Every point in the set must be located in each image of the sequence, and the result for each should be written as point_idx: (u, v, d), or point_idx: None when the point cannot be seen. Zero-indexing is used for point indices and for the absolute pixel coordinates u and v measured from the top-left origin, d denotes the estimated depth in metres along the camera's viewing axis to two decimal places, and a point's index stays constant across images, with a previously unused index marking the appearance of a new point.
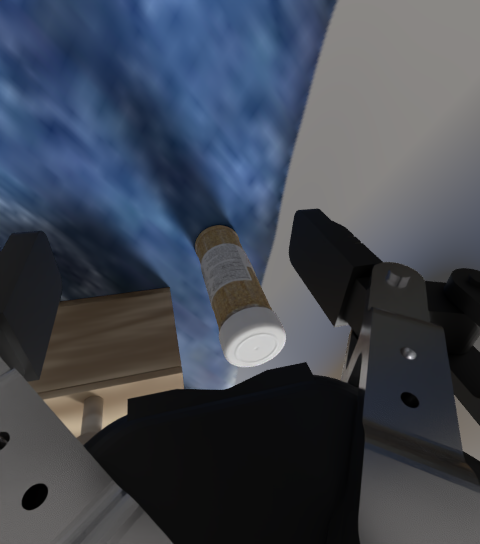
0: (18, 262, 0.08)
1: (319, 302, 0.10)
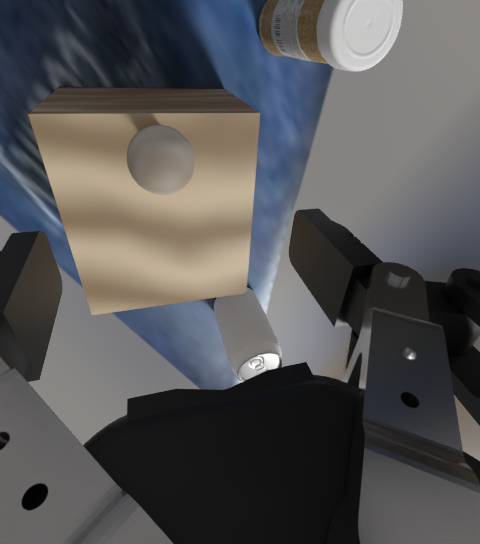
0: (18, 262, 0.08)
1: (319, 302, 0.10)
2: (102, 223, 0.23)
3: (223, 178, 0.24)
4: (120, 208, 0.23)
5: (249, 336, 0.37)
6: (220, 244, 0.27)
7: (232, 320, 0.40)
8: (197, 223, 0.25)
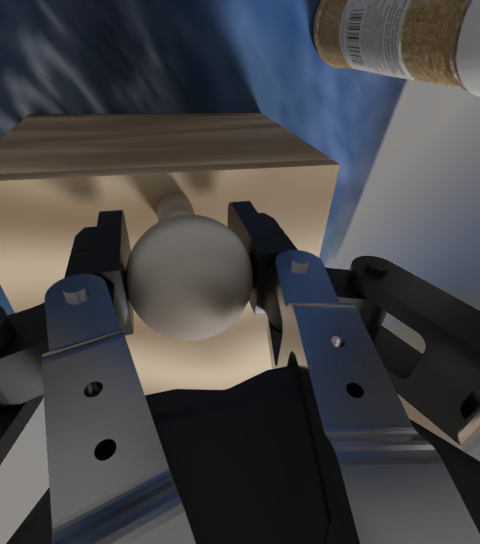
0: (115, 233, 0.09)
1: None
2: None
3: None
4: None
5: None
6: (260, 338, 0.19)
7: None
8: None
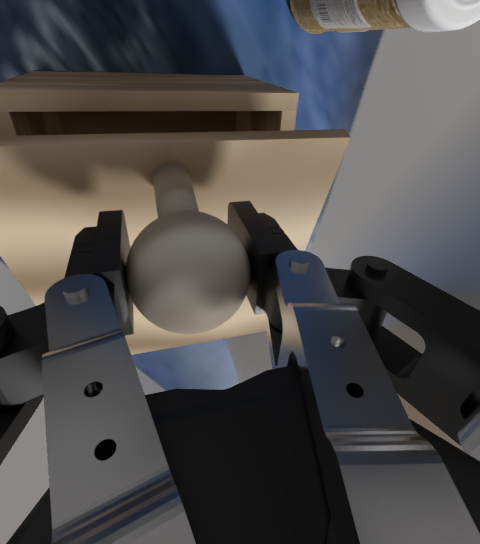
0: (115, 233, 0.09)
1: None
2: None
3: None
4: None
5: None
6: None
7: (249, 354, 0.34)
8: None
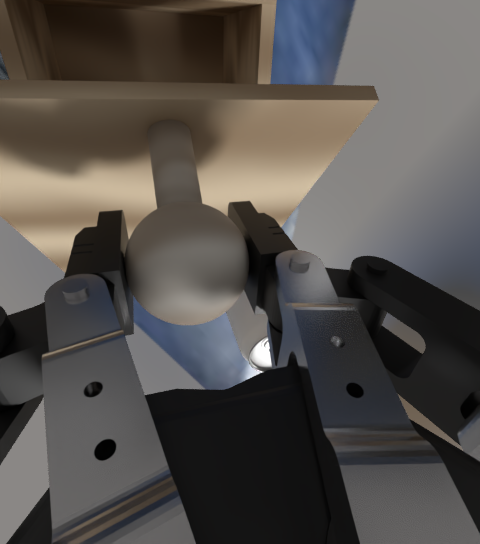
0: (114, 233, 0.09)
1: (245, 291, 0.10)
2: (74, 221, 0.15)
3: (272, 177, 0.14)
4: (101, 208, 0.14)
5: None
6: None
7: (241, 297, 0.34)
8: None
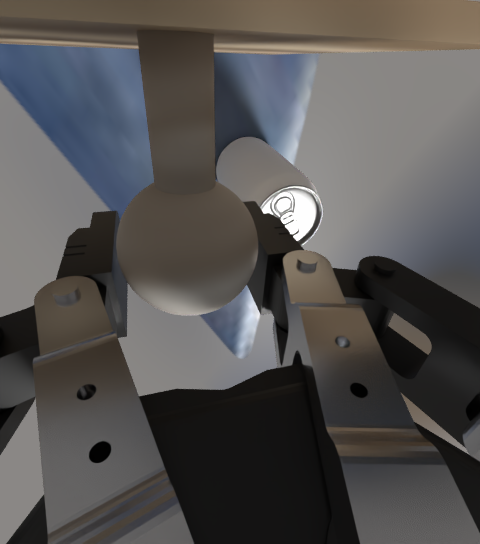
0: (108, 235, 0.09)
1: (251, 291, 0.10)
2: (4, 37, 0.10)
3: (322, 47, 0.09)
4: (50, 38, 0.09)
5: (272, 168, 0.24)
6: None
7: (244, 162, 0.27)
8: (226, 47, 0.12)
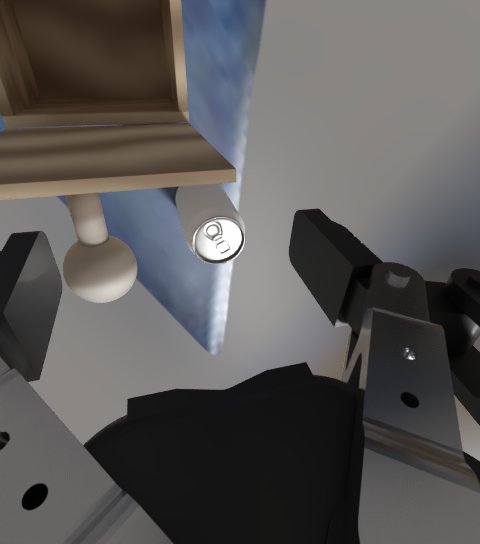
0: (18, 262, 0.08)
1: (320, 302, 0.10)
2: None
3: None
4: None
5: (206, 203, 0.33)
6: None
7: (190, 197, 0.36)
8: None
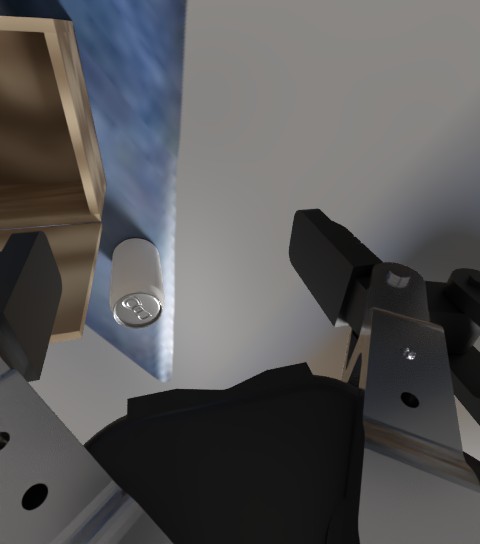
0: (18, 262, 0.08)
1: (319, 302, 0.10)
2: None
3: None
4: None
5: (127, 278, 0.38)
6: None
7: (118, 266, 0.40)
8: None
